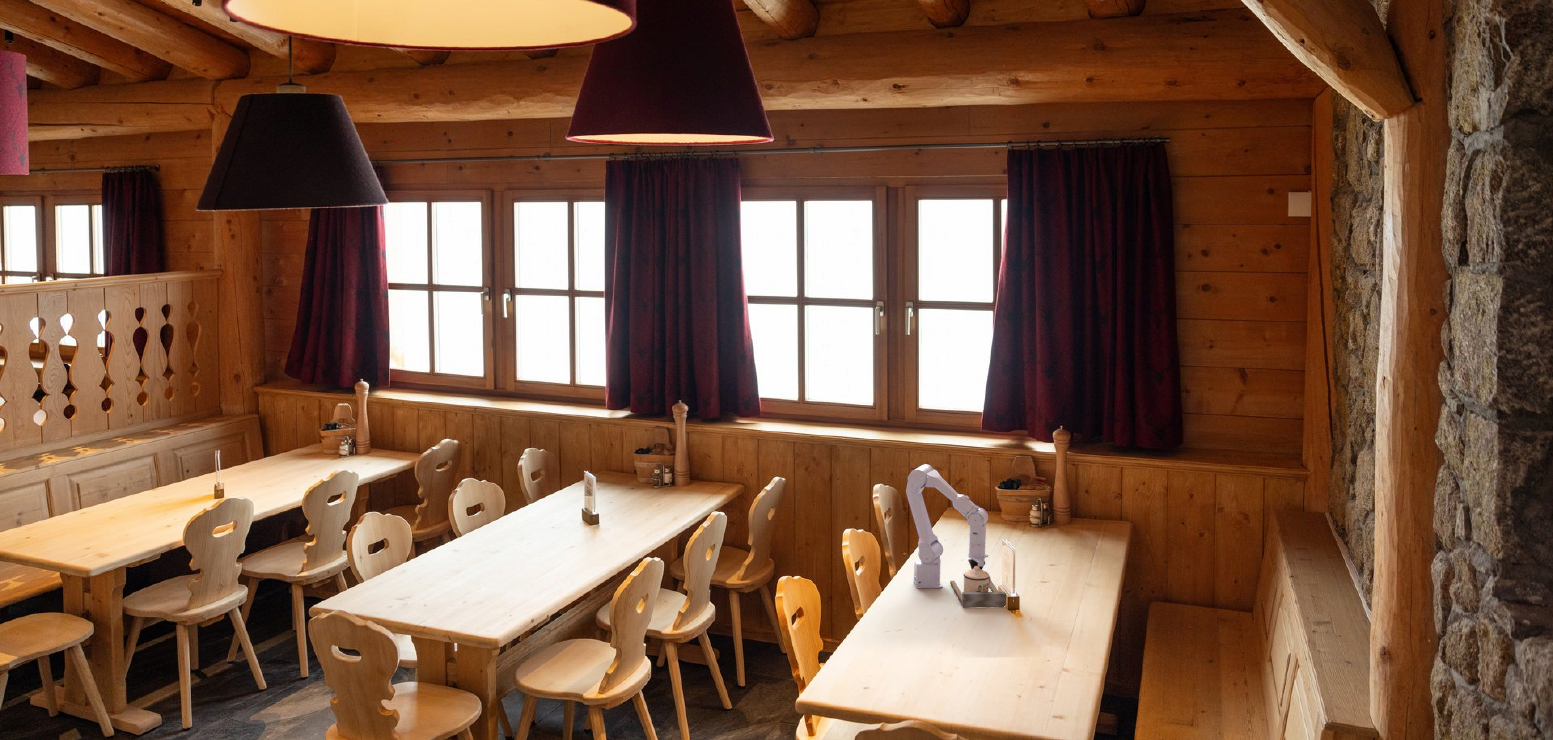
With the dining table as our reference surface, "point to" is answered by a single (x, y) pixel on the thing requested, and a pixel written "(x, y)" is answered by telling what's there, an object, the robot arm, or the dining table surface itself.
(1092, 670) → the dining table surface
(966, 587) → the teacup with lid
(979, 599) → the guide track
